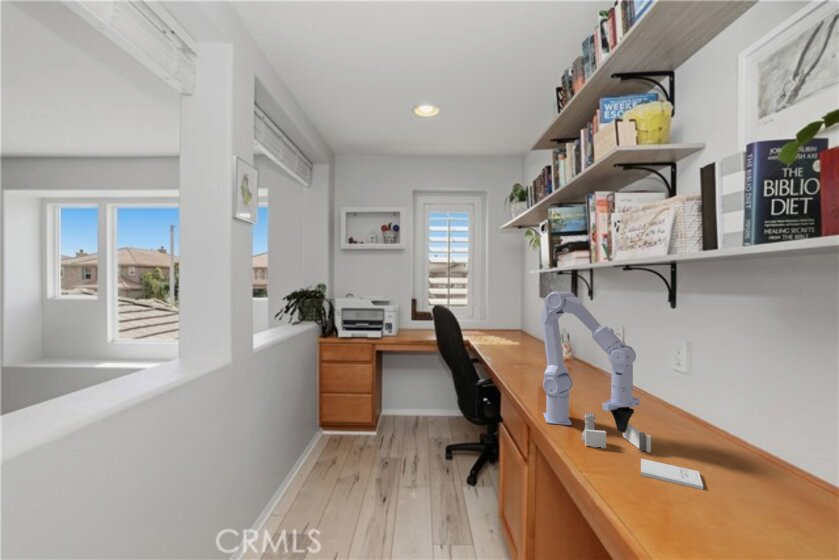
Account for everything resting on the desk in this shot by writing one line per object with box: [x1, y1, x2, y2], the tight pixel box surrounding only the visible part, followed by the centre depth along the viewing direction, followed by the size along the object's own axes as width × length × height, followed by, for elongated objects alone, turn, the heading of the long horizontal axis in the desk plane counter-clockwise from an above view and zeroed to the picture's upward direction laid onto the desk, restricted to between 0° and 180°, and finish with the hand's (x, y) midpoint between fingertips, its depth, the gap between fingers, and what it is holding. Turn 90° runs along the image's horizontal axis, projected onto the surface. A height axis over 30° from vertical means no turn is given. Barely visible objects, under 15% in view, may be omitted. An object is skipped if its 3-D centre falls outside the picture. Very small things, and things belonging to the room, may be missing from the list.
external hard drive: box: [640, 458, 704, 491], centre depth 94 cm, size 2×8×12 cm
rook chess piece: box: [581, 412, 597, 442], centre depth 114 cm, size 4×4×8 cm
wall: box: [584, 428, 652, 454], centre depth 109 cm, size 1×17×4 cm, turn 78°
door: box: [622, 422, 646, 452], centre depth 112 cm, size 1×10×5 cm, turn 0°
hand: (621, 431), depth 115 cm, fingers closed
